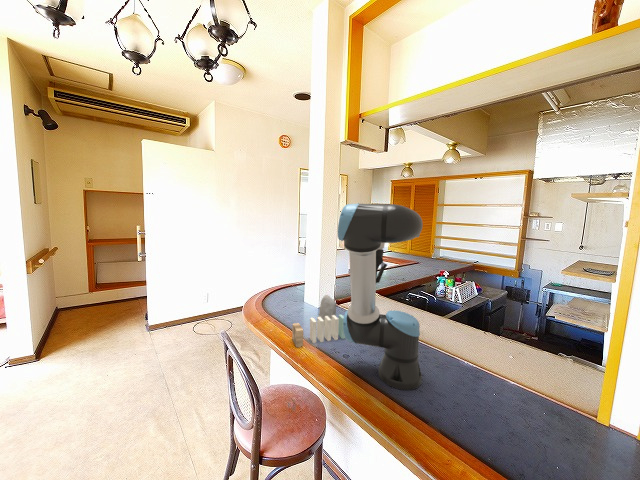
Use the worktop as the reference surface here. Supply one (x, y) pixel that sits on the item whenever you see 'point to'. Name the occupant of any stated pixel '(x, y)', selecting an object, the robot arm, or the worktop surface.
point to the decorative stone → (327, 307)
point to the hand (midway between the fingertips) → (369, 296)
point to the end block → (297, 334)
